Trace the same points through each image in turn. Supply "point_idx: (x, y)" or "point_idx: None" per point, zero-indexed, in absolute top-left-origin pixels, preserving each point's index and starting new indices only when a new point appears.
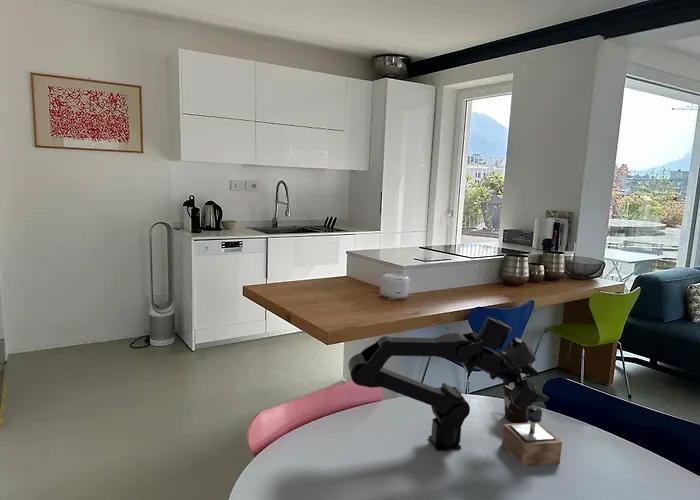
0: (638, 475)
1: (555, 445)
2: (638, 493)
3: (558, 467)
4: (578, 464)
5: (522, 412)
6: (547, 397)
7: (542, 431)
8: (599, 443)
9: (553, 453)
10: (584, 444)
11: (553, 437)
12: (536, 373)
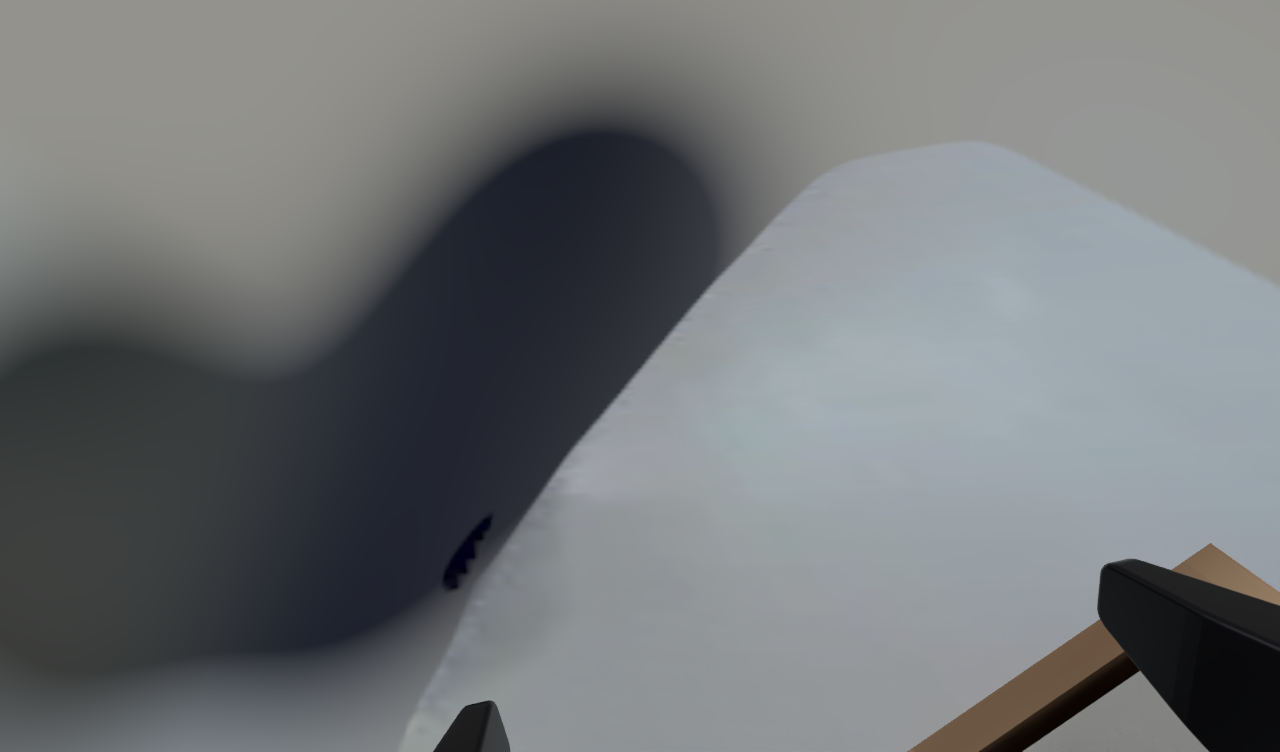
0: (966, 267)
1: None
2: (1174, 241)
3: None
4: (1075, 497)
5: None
6: (1172, 575)
7: (1147, 736)
8: (729, 420)
9: None
10: (775, 480)
11: None
12: (493, 750)
